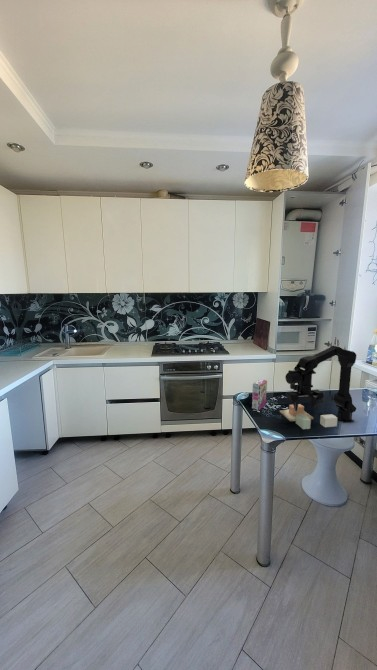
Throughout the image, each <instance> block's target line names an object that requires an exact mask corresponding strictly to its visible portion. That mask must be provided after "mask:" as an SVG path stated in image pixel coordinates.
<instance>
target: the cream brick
mask: <svg viewBox="0 0 377 670" xmlns="http://www.w3.org/2000/svg"><path fill="white" fill-rule="evenodd" d="M336 416H337V415H334V414H332V413H331V414H322V415H321V414H320V418H319V425H321V426H322V427H324V428H332V427H338V418H337V417H336Z"/></svg>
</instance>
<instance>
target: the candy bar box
mask: <svg viewBox="0 0 377 670" xmlns="http://www.w3.org/2000/svg"><path fill="white" fill-rule="evenodd" d="M267 391H268V380H265V379H258V380H257V381H255V382H253V383H252V395H251V396H252V399H251V409H252V410H255V411H260V410H262V408H264V407H265V406H266V405H267V394H268V393H267Z"/></svg>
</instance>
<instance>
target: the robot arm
mask: <svg viewBox="0 0 377 670" xmlns="http://www.w3.org/2000/svg"><path fill="white" fill-rule="evenodd" d="M334 356H335V357H337V361H338V363H339V365H340V370H339V371H340V372H339V382H338V383H339V384H338V391H337V392H336V393H334V394H333V402H334V403H335V407H336V408H338V409H337V415H335V416H336V417H337V420H339V421H341V422H342V423H353V422H355V420H354V419H352V418H353V414H354V413H355V412H356V411H357V407H356V406H355V405H354V404H353V398H352V395H351V393H350V386H351V375H352V367H353V366H354V365H355V363H356V361H357V353H356V352H355V351H354V350H353V351H352V350H348V349H344V348H342V347H340V346H338V345H337V346H336V345H330V347H328V348H326V349H323V350H322V351H319V352H317V353H316V354H313V355H306V356H303V357H301V358H300V359H299V360H298V362H297V364H296V365H295V367H294V368H293V370H292V369H291V370H288V372H287V373H286V374H285V376H284V377H285V382H286V383H287V384H288V385H289V388H290V390H291V391H286V393H285V397H286V398H288V399H289V400H290V401H291V403H292V405H293V406H294V409H295V411H297V409H298V404H300V403H299V401H300V400H299V398H302V397H303V398H304V397H306V398H307V397H310V409H311V411H313V410H314V408H315V407H316V406H317V404H319V402H320V401H322V399H324V398H325V393H324V392H323V391H321V390H319V389H312V388H314V385H313V384H312V380H313V375H315V374H317V372H316V371H315V369H316V368H317V367H318V366H319V364H321V363H323V362H324V361H326V360H329V359H331V358H333V357H334ZM292 390H293V391H292ZM295 391H296V392H295Z"/></svg>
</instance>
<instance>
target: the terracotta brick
mask: <svg viewBox="0 0 377 670" xmlns="http://www.w3.org/2000/svg"><path fill="white" fill-rule="evenodd" d="M288 410H289V414H291V415H292V416H296V414H304V411H305V406H304V405H302V404H301V403H298V409H297V411H295V409H294V406H293V404H288Z"/></svg>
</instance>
